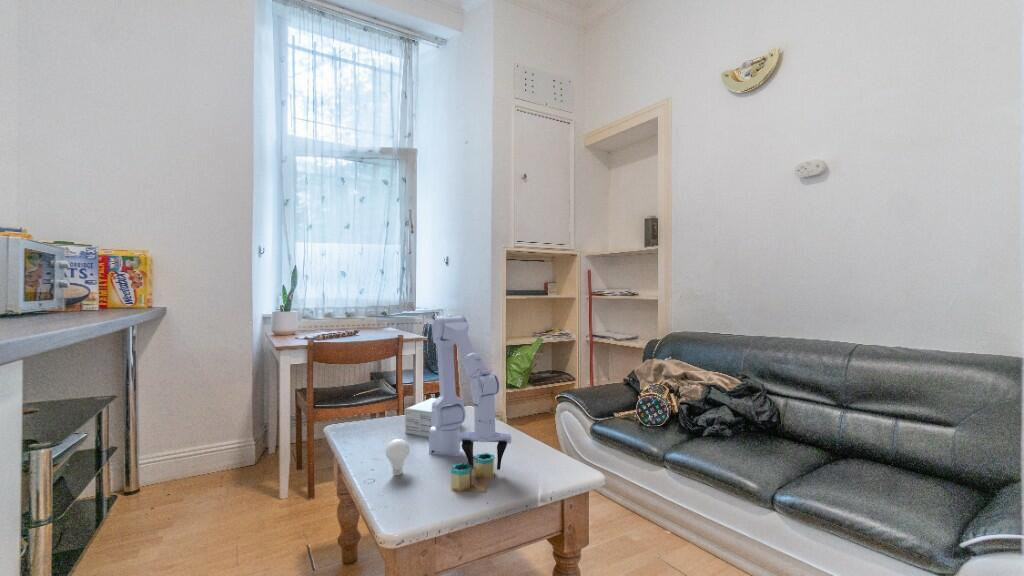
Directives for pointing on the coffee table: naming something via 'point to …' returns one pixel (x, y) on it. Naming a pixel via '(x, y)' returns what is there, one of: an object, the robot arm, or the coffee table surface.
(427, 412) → the supplement box
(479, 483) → the pin board
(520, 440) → the coffee table surface
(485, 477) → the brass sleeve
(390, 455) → the lightbulb
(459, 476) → the seated sleeve
